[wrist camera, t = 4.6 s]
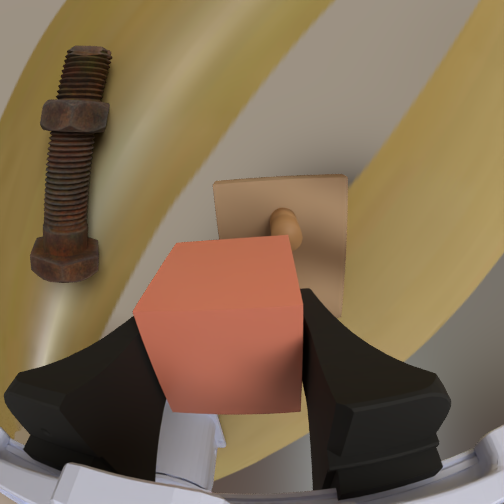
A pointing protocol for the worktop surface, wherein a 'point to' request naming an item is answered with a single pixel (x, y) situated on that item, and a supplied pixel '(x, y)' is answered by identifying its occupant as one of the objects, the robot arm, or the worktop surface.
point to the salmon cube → (226, 326)
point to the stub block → (293, 224)
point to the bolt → (71, 167)
